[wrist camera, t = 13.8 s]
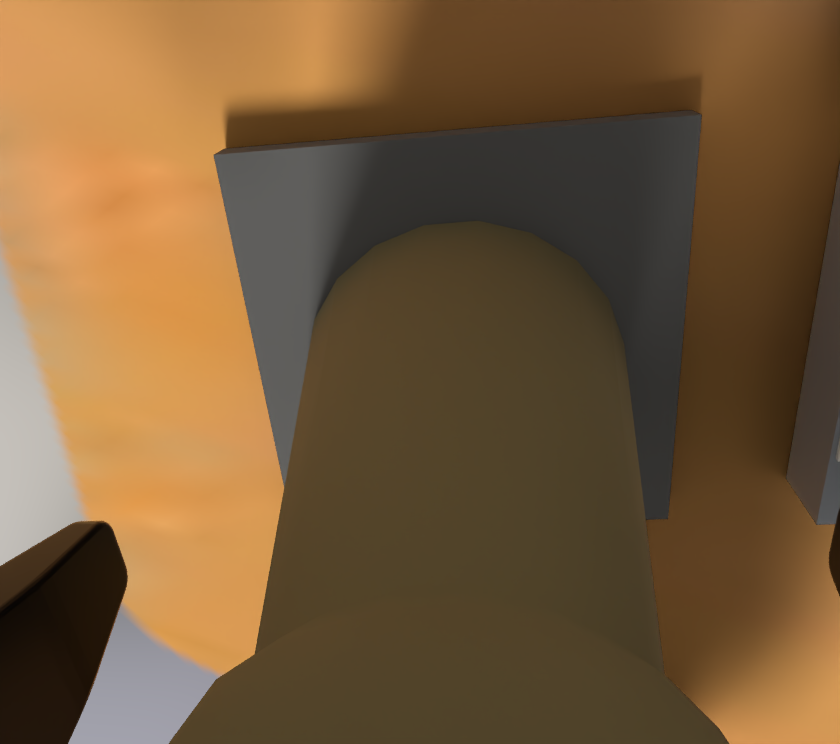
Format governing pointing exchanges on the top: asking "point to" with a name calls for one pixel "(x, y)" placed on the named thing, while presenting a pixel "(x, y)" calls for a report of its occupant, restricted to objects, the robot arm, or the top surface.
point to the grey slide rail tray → (821, 393)
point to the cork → (459, 518)
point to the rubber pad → (488, 202)
